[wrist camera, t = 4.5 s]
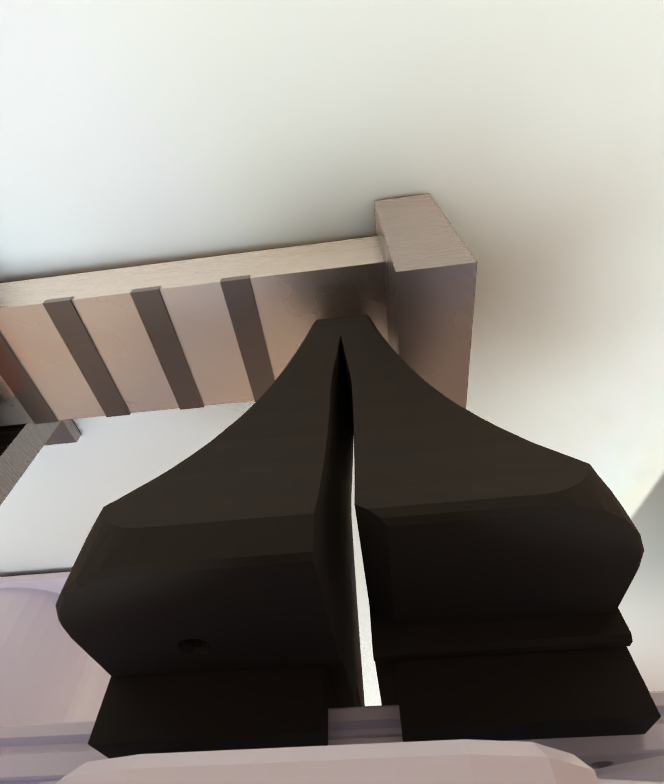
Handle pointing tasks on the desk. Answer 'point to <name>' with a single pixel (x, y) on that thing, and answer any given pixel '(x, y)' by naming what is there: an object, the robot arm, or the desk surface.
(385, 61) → the desk surface
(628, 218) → the desk surface
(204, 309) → the bar
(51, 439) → the collar
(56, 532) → the desk surface
